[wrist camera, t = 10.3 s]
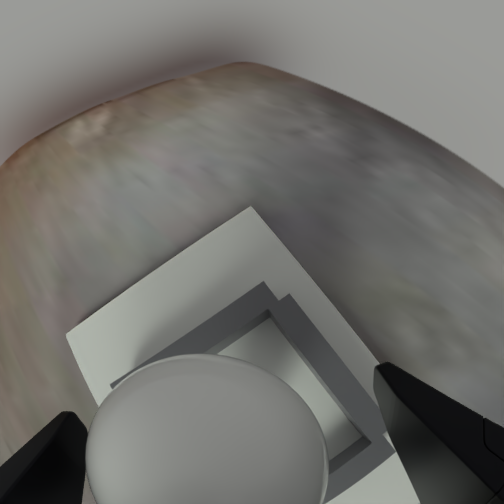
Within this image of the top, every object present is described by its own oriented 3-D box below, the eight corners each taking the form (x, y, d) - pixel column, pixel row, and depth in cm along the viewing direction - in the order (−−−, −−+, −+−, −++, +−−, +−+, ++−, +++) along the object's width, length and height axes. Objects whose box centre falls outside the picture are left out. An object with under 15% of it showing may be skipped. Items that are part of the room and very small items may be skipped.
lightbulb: (203, 351, 16) (74, 292, 6) (324, 385, 15) (398, 391, 5) (168, 459, 14) (22, 525, 4) (286, 496, 12) (279, 639, 2)
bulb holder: (450, 464, 13) (475, 474, 10) (252, 589, 10) (247, 614, 8) (252, 214, 20) (247, 186, 17) (74, 337, 18) (45, 327, 15)
